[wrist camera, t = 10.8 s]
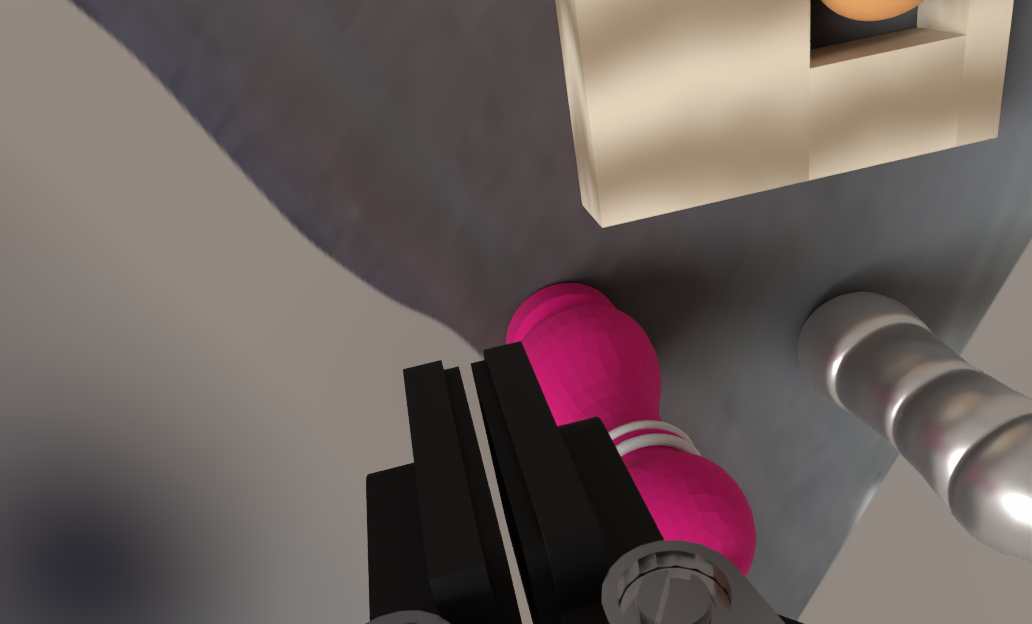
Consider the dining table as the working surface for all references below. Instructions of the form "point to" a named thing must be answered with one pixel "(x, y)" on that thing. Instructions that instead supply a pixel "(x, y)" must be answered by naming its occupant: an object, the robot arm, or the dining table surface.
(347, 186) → the dining table surface
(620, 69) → the hole board
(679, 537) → the pepper mill
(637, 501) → the robot arm
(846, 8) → the ball
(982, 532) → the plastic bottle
